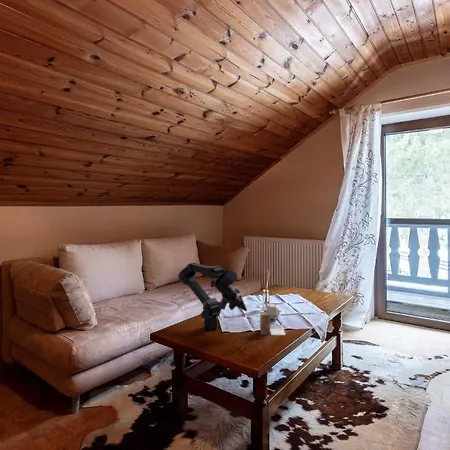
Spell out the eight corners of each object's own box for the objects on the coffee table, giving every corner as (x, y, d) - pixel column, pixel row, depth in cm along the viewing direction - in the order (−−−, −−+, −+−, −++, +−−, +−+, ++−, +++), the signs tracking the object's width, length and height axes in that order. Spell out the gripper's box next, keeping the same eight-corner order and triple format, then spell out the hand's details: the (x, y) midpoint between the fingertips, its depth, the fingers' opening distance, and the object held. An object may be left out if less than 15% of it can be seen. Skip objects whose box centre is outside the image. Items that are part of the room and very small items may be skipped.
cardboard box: (260, 334, 176) (261, 314, 176) (260, 330, 181) (260, 311, 180) (270, 334, 176) (270, 315, 175) (269, 330, 181) (269, 311, 180)
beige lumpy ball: (275, 326, 196) (280, 316, 190) (261, 320, 198) (265, 309, 191) (279, 314, 203) (284, 304, 197) (265, 308, 204) (270, 297, 198)
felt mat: (271, 335, 175) (271, 334, 175) (269, 329, 182) (269, 329, 182) (285, 335, 175) (285, 334, 175) (283, 329, 182) (283, 329, 182)
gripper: (214, 294, 186) (234, 314, 187) (212, 305, 168) (234, 328, 169) (229, 279, 185) (249, 300, 186) (228, 289, 167) (251, 312, 168)
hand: (246, 310), depth 177 cm, fingers closed
